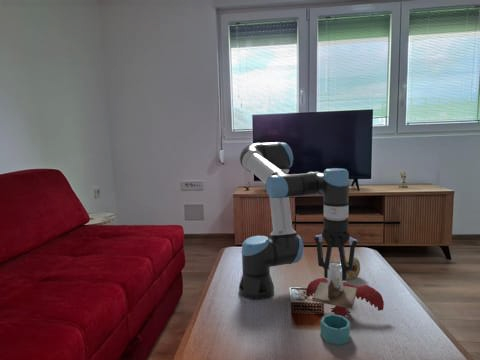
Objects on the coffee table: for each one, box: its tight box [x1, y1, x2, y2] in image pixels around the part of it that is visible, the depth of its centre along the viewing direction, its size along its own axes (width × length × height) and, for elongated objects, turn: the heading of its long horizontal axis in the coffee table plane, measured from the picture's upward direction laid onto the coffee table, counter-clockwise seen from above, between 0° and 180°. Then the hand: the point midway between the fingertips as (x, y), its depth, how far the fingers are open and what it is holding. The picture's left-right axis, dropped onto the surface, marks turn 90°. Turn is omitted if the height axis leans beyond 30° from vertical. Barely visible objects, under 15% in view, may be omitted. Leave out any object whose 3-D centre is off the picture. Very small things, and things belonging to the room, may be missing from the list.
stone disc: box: [346, 256, 361, 281], centre depth 147 cm, size 10×4×10 cm, turn 125°
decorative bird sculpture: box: [305, 277, 385, 319], centre depth 120 cm, size 28×9×15 cm
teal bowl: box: [320, 313, 351, 346], centre depth 105 cm, size 9×9×5 cm
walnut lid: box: [311, 277, 357, 310], centre depth 103 cm, size 12×12×5 cm
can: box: [326, 260, 342, 280], centre depth 136 cm, size 6×6×12 cm
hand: (335, 288), depth 103 cm, fingers closed on walnut lid, 3 cm apart
